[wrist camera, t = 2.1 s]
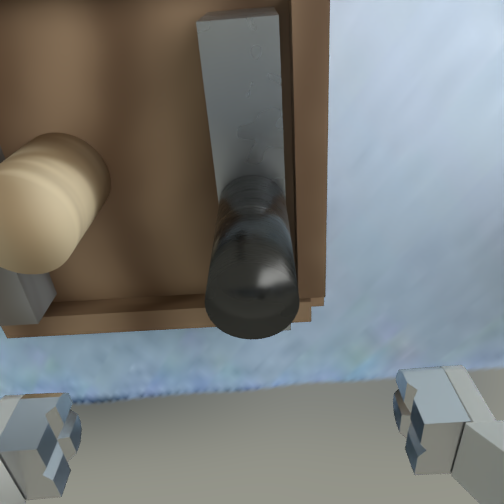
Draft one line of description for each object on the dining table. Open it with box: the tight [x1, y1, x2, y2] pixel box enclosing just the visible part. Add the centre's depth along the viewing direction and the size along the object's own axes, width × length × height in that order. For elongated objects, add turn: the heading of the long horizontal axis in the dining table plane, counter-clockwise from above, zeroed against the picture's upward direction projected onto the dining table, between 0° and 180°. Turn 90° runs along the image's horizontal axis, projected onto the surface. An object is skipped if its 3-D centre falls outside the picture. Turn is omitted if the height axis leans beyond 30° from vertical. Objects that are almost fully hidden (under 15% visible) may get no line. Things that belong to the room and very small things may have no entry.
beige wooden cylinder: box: [0, 132, 111, 274], centre depth 22 cm, size 5×5×6 cm
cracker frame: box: [0, 0, 330, 338], centre depth 24 cm, size 22×21×4 cm
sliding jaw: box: [196, 7, 300, 339], centre depth 19 cm, size 3×15×12 cm, turn 4°
